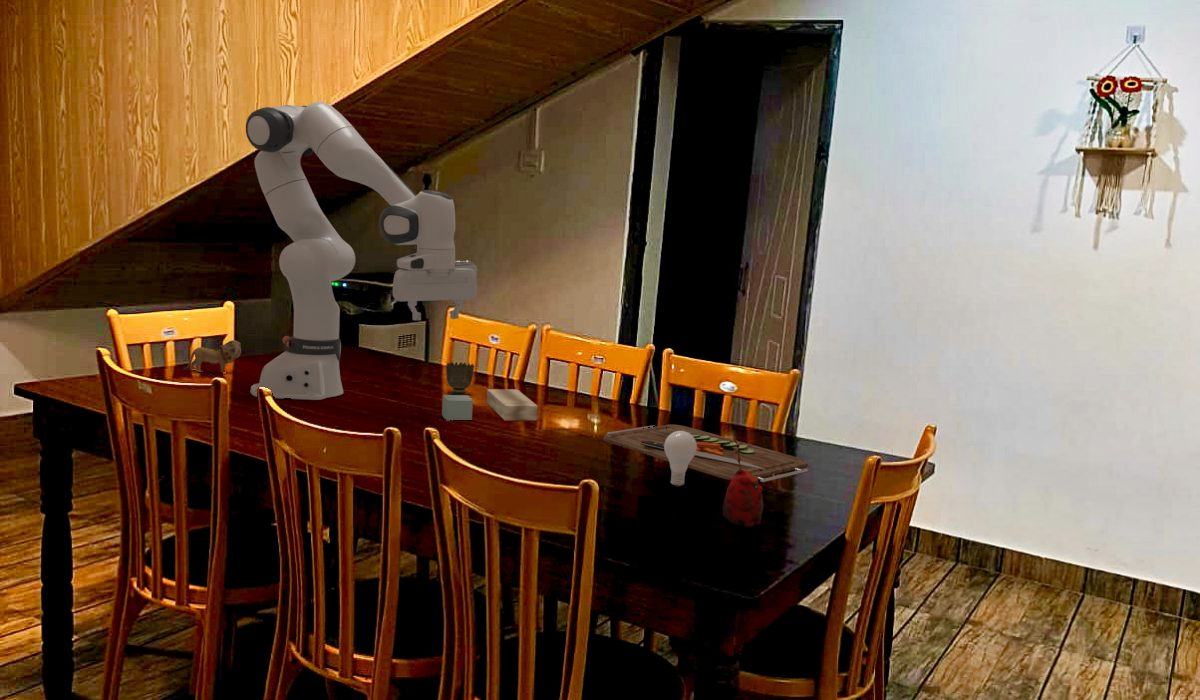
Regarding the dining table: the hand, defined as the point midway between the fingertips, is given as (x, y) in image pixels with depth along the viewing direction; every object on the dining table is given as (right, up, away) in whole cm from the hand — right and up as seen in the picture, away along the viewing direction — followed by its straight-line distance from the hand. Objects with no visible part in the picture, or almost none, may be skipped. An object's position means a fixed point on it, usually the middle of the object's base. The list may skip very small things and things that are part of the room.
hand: (435, 319), depth 245 cm
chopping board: (+62, -31, -13) cm, 70 cm away
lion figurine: (-65, -14, +34) cm, 75 cm away
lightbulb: (+54, -34, -42) cm, 76 cm away
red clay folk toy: (+64, -38, -62) cm, 97 cm away
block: (+5, -24, +2) cm, 24 cm away
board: (+17, -23, +14) cm, 31 cm away
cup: (+1, -19, +30) cm, 36 cm away
